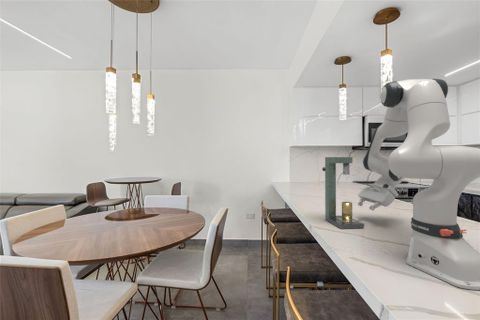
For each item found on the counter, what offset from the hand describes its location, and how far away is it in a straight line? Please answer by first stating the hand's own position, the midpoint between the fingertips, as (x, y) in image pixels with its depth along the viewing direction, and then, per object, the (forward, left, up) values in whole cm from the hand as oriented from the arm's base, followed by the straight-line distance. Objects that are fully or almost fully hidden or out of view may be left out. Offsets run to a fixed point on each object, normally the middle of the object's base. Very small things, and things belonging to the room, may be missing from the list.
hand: (364, 207), depth 118 cm
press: (+4, +12, -8) cm, 15 cm away
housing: (0, +10, -6) cm, 12 cm away
